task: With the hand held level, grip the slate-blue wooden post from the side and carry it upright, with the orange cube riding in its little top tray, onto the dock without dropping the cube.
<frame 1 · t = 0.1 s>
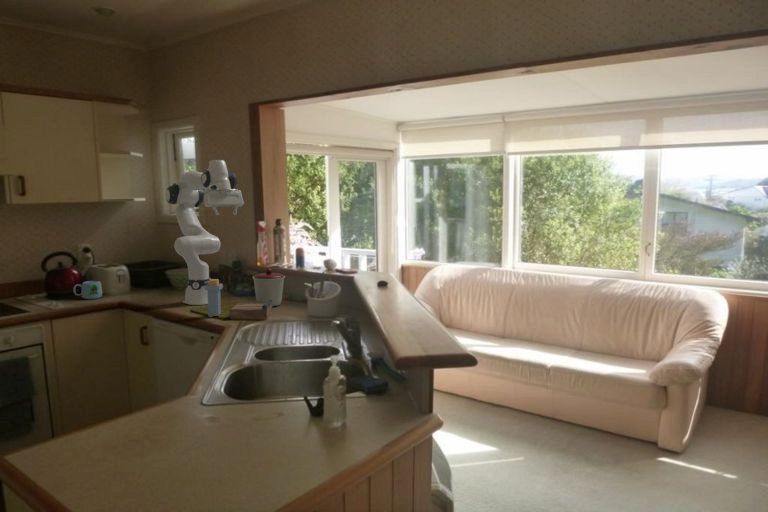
hand: (226, 214, 258), 52 cm above the worktop, tool tilted 20°, fingers open, 8 cm apart
mug: (88, 298, 300), on the worktop
canister: (269, 305, 287), on the worktop
dock: (251, 315, 260), on the worktop
cargo cube: (213, 287, 258), point 15 cm above the worktop, touching cargo post
cargo post: (214, 315, 259), on the worktop, touching cargo cube
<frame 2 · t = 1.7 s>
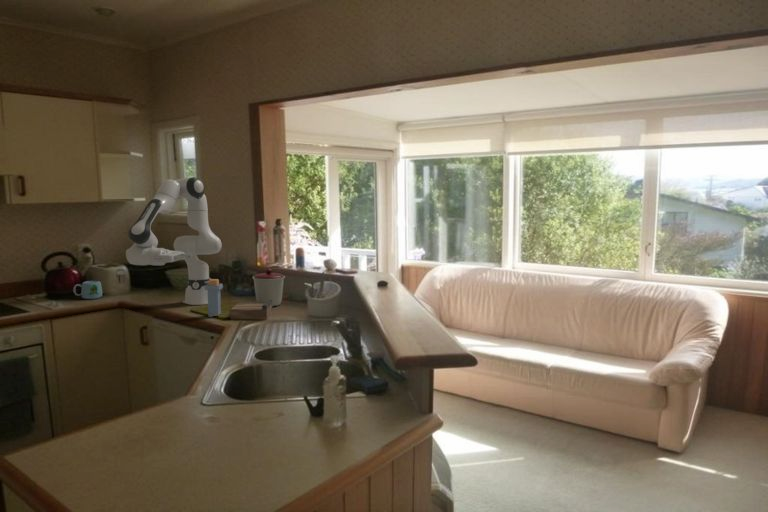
hand: (187, 257, 256), 30 cm above the worktop, tool horizontal, fingers open, 8 cm apart
nothing on the worktop moved.
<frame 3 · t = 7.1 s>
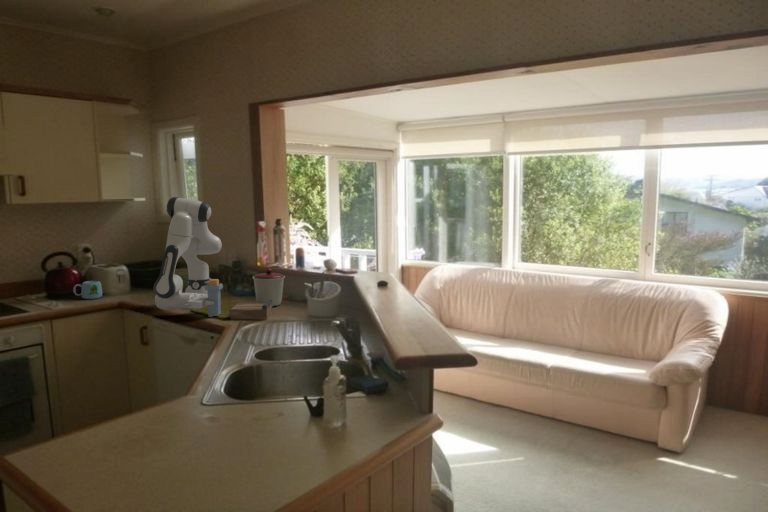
hand: (216, 301, 259), 8 cm above the worktop, tool horizontal, fingers closed on cargo post, 5 cm apart
cargo post: (214, 315, 259), on the worktop, touching cargo cube, gripper
everything else where it was.
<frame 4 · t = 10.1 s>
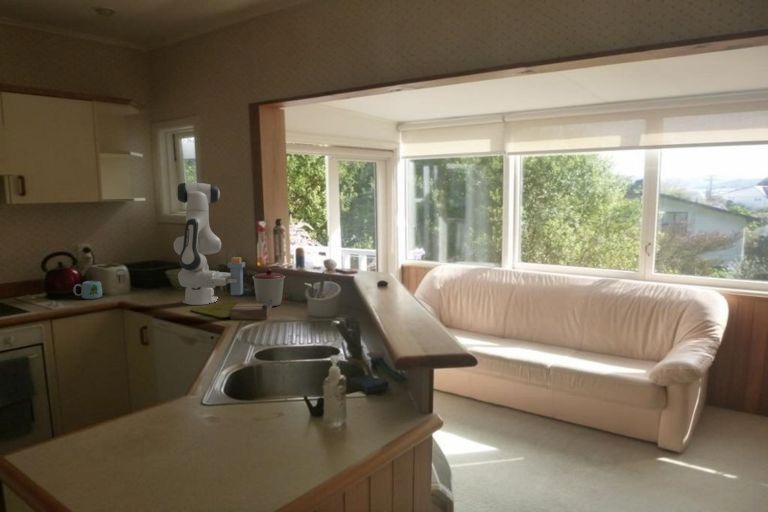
hand: (238, 279, 257), 19 cm above the worktop, tool horizontal, fingers closed on cargo post, 5 cm apart
cargo cube: (236, 265, 257), point 26 cm above the worktop, touching cargo post
cargo post: (237, 294, 258), point 11 cm above the worktop, touching cargo cube, gripper
everything else where it was.
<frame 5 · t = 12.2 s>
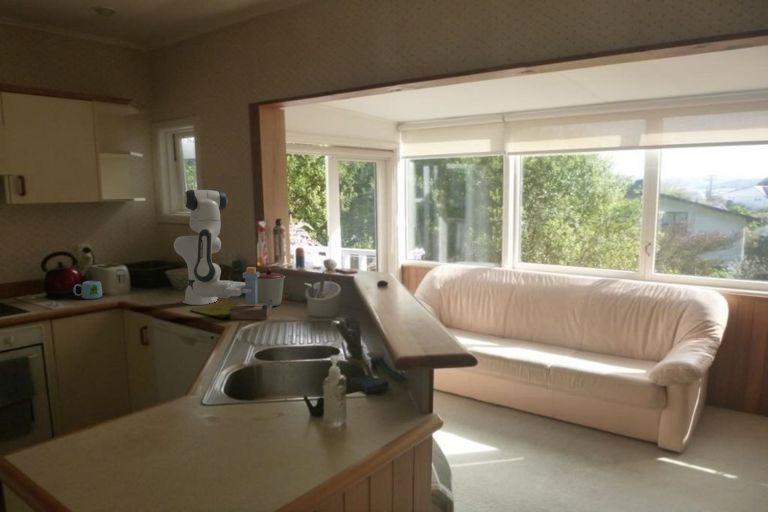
hand: (253, 289, 259), 14 cm above the worktop, tool horizontal, fingers closed on cargo post, 5 cm apart
cargo cube: (251, 275, 258), point 21 cm above the worktop, touching cargo post
cargo post: (251, 303, 260), point 6 cm above the worktop, touching cargo cube, gripper
everything else where it was.
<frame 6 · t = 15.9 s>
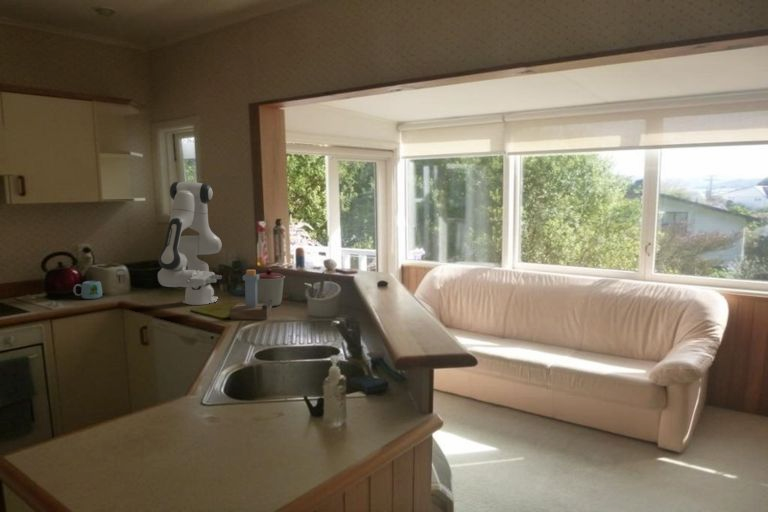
hand: (218, 278, 258), 19 cm above the worktop, tool horizontal, fingers open, 8 cm apart
cargo cube: (251, 277, 258), point 20 cm above the worktop, touching cargo post
cargo post: (251, 306, 260), point 5 cm above the worktop, touching cargo cube, dock
everything else where it was.
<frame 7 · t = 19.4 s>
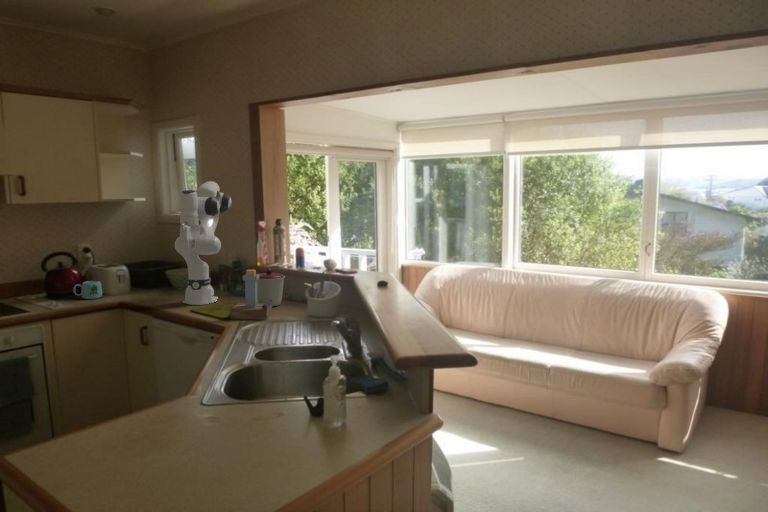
hand: (190, 248, 260), 34 cm above the worktop, tool pointing down, fingers open, 8 cm apart
nothing on the worktop moved.
at the end: cargo post inside the target area on the dock (0.1 cm from its centre), point 5.0 cm above the dock's base; cargo post tilted 0°; cargo cube 0.0 cm off-centre on the cargo post, point 14.8 cm above the cargo post's base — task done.
